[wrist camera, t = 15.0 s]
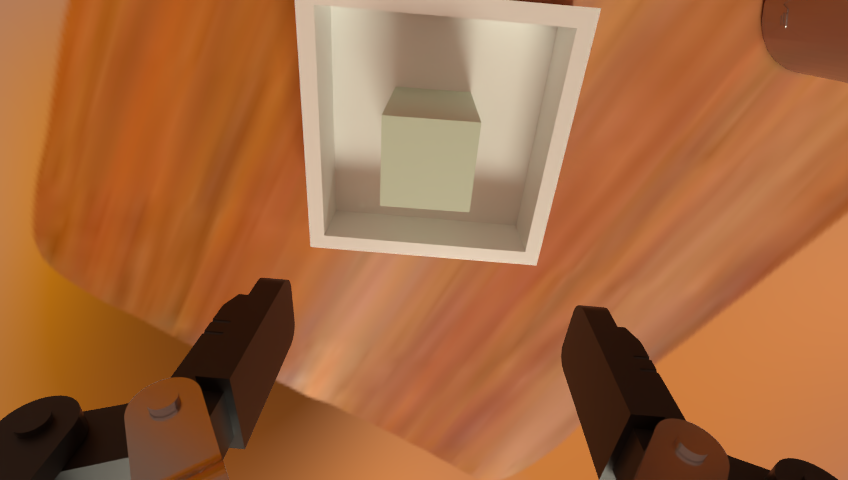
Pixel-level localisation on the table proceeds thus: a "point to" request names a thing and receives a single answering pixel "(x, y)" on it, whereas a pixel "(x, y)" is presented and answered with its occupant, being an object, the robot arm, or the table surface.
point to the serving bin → (441, 70)
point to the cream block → (429, 149)
